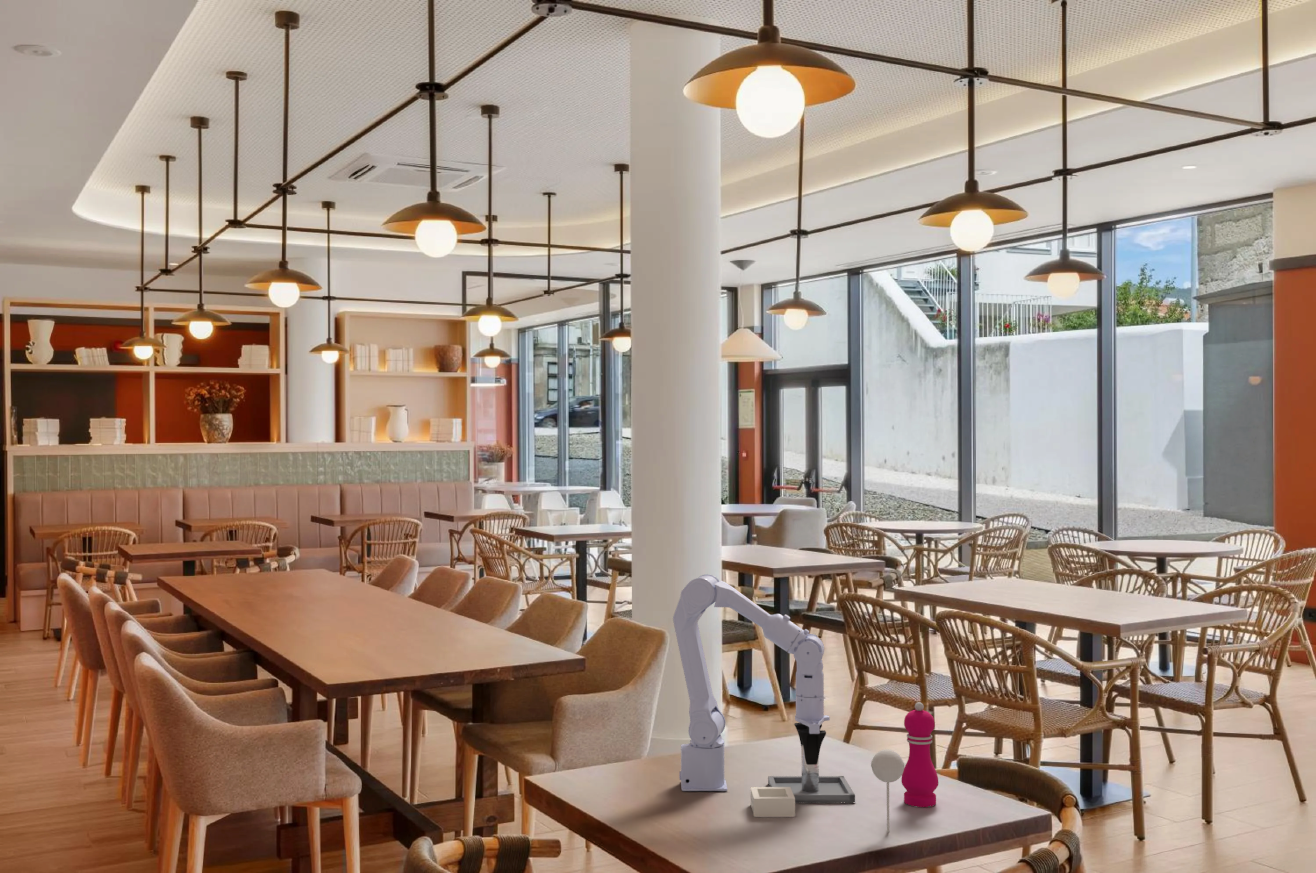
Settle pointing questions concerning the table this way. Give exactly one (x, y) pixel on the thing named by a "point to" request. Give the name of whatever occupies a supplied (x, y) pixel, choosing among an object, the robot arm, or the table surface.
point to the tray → (829, 791)
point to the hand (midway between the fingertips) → (810, 761)
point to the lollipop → (887, 770)
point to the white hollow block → (772, 802)
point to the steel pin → (809, 775)
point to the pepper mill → (919, 759)
